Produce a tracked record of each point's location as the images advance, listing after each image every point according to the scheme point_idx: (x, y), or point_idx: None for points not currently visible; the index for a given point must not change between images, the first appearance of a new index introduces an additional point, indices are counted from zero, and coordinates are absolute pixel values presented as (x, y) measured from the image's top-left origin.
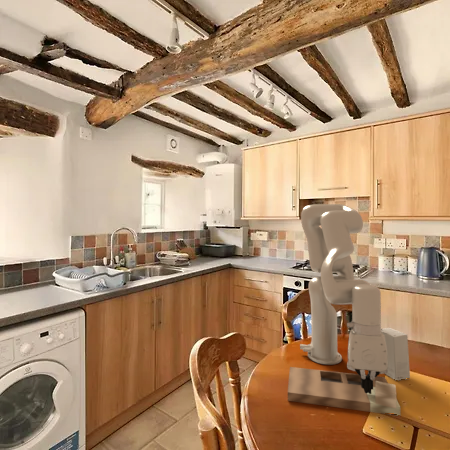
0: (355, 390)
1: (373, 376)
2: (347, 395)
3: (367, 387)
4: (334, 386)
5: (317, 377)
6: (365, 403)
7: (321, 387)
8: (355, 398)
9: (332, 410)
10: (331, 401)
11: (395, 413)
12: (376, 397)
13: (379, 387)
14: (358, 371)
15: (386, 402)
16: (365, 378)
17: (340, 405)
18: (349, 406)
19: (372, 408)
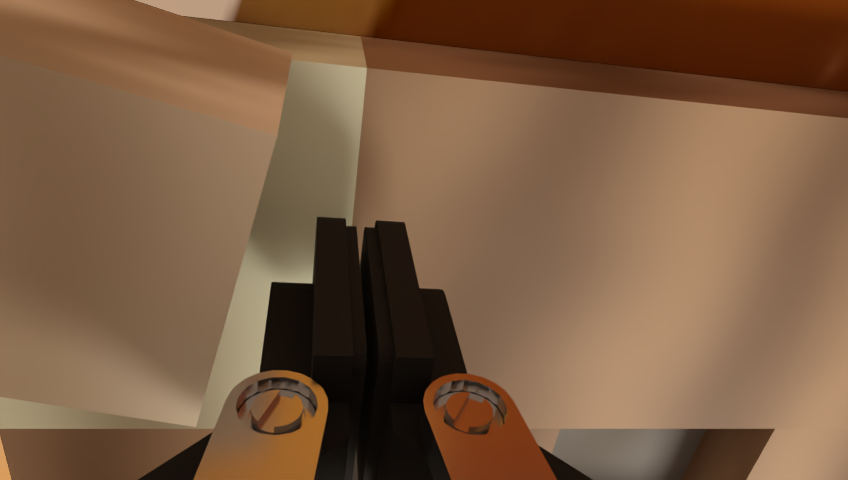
0: (470, 322)
1: (249, 435)
2: (618, 203)
3: (376, 270)
4: (686, 356)
5: (781, 471)
6: (432, 67)
7: (845, 313)
8: (543, 146)
9: (807, 7)
10: (821, 102)
11: None
12: (269, 79)
13: (168, 218)
14: None
15: (111, 8)
16: (408, 403)
17: (705, 81)
18: (608, 70)
19: (334, 44)
